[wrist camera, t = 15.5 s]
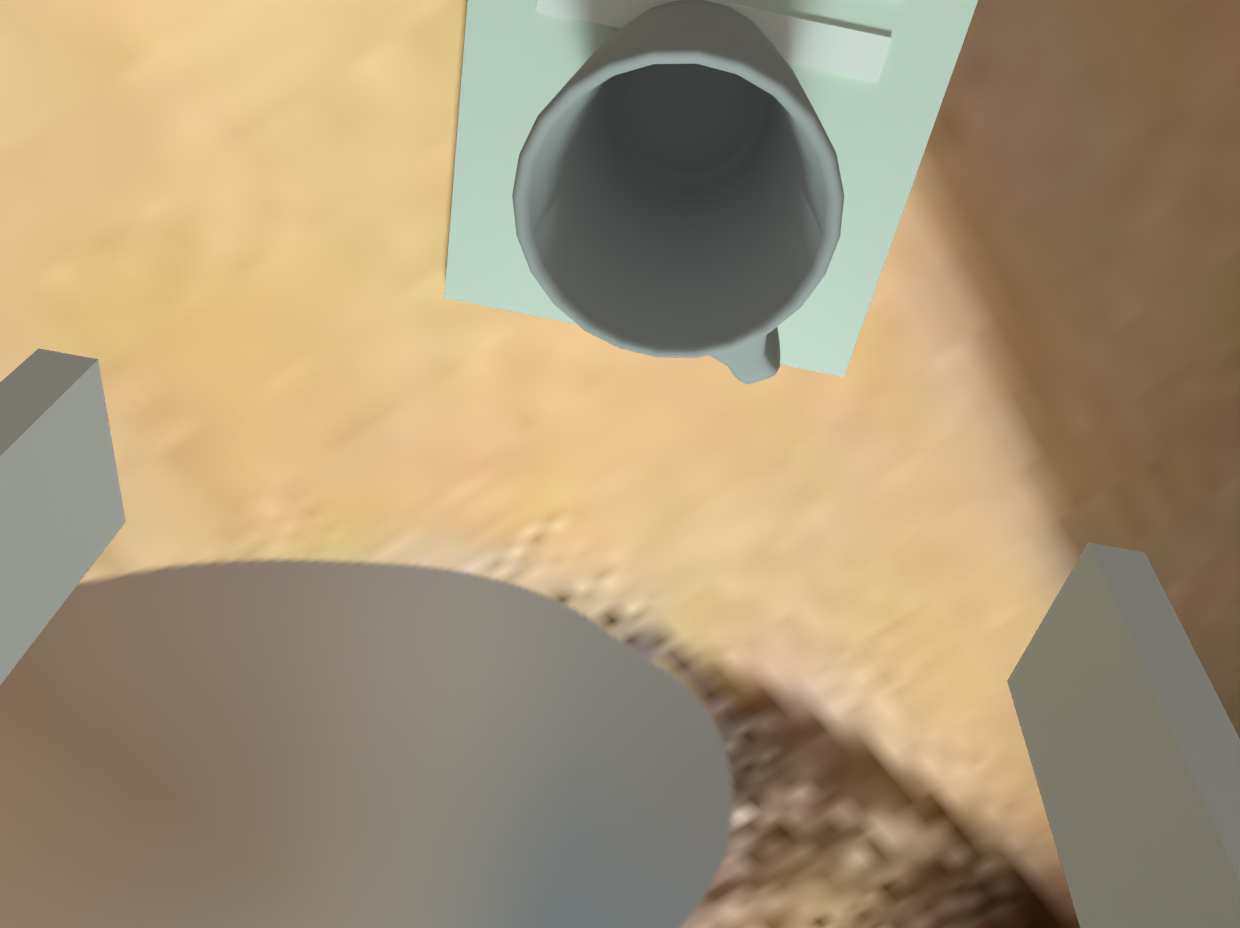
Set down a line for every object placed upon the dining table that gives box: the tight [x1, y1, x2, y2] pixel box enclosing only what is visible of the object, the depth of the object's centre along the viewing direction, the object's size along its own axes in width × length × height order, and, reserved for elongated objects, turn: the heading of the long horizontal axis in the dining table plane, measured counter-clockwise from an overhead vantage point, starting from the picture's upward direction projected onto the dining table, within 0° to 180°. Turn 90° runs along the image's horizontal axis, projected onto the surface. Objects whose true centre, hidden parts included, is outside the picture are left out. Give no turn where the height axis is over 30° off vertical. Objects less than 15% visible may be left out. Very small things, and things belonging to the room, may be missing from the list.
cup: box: [512, 0, 844, 384], centre depth 27 cm, size 8×10×8 cm
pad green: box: [444, 0, 978, 377], centre depth 31 cm, size 14×14×1 cm
